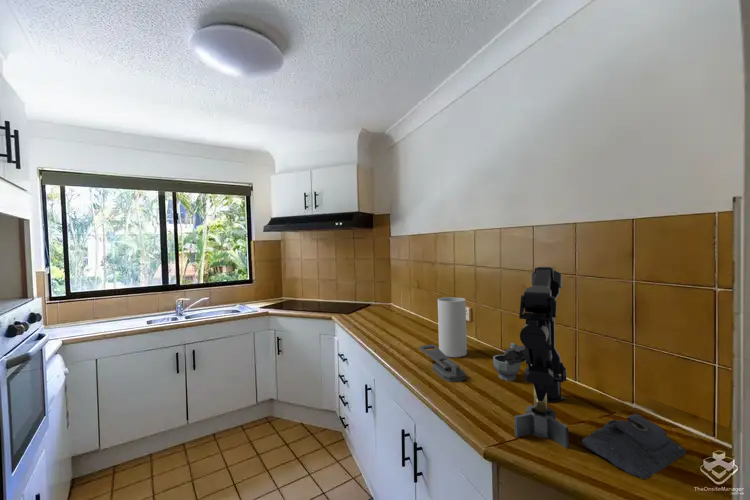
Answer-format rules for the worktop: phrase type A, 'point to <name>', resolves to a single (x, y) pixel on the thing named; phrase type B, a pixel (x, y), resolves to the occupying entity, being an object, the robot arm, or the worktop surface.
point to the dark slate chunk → (634, 446)
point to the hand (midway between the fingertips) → (540, 398)
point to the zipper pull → (444, 364)
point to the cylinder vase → (452, 326)
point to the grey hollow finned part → (541, 425)
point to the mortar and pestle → (506, 367)
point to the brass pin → (540, 403)
